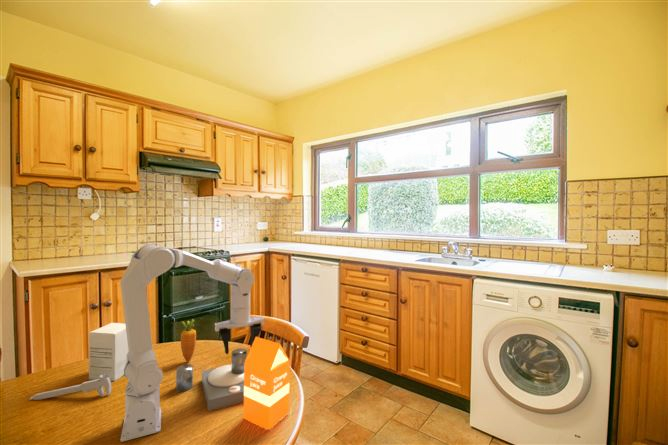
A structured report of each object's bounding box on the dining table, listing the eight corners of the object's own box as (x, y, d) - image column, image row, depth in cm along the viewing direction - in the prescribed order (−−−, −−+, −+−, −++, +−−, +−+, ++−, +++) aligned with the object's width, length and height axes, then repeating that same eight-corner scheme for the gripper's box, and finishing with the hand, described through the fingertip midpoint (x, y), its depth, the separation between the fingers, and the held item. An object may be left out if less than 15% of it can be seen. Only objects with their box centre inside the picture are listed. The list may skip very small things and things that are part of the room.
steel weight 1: (193, 389, 92) (193, 369, 92) (176, 393, 90) (176, 372, 90) (192, 382, 96) (192, 363, 96) (175, 385, 94) (176, 366, 93)
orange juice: (264, 403, 86) (265, 332, 85) (289, 414, 81) (290, 339, 81) (242, 418, 79) (244, 341, 79) (268, 431, 75) (270, 349, 74)
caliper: (111, 394, 89) (111, 373, 89) (109, 397, 88) (109, 375, 87) (31, 398, 86) (31, 376, 86) (28, 401, 85) (28, 378, 85)
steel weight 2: (248, 371, 95) (249, 352, 95) (234, 375, 93) (234, 356, 93) (243, 365, 99) (243, 347, 99) (229, 369, 96) (229, 350, 96)
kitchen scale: (260, 397, 89) (261, 384, 88) (208, 411, 82) (208, 397, 82) (247, 370, 103) (247, 359, 103) (201, 380, 97) (202, 368, 97)
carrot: (177, 364, 107) (177, 321, 106) (187, 358, 112) (187, 316, 111) (189, 366, 106) (190, 322, 105) (198, 359, 110) (199, 318, 110)
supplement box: (111, 365, 105) (111, 321, 104) (135, 367, 104) (136, 323, 104) (87, 379, 96) (87, 331, 95) (114, 382, 95) (114, 333, 95)
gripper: (260, 300, 102) (259, 341, 102) (213, 305, 95) (212, 349, 95) (266, 306, 96) (265, 349, 96) (217, 312, 89) (216, 359, 89)
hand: (239, 350), depth 95 cm, fingers open, 7 cm apart
